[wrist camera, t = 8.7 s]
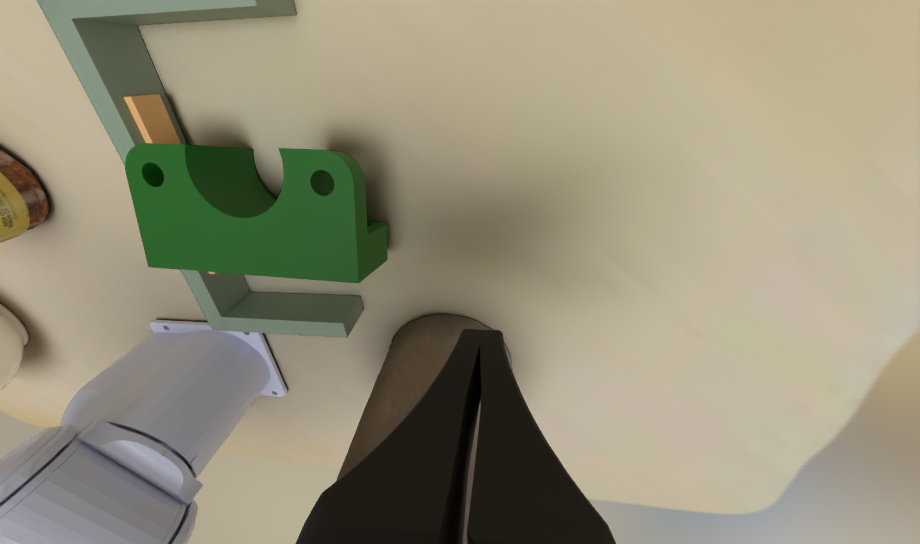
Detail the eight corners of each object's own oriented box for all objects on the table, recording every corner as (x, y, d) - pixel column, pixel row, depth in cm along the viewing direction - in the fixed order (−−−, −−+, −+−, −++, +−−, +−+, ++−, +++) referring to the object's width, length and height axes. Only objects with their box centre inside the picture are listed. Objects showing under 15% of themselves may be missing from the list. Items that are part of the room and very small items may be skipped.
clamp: (378, 155, 23) (393, 153, 15) (381, 241, 25) (395, 281, 17) (168, 146, 20) (39, 135, 12) (188, 246, 22) (88, 298, 14)
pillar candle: (372, 371, 28) (265, 625, 16) (421, 289, 23) (322, 564, 11) (474, 416, 30) (452, 679, 17) (540, 349, 25) (578, 648, 12)
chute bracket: (241, 304, 26) (212, 330, 24) (101, -4, 17) (27, -17, 14) (363, 309, 25) (347, 337, 22) (289, -19, 15) (245, -35, 13)
